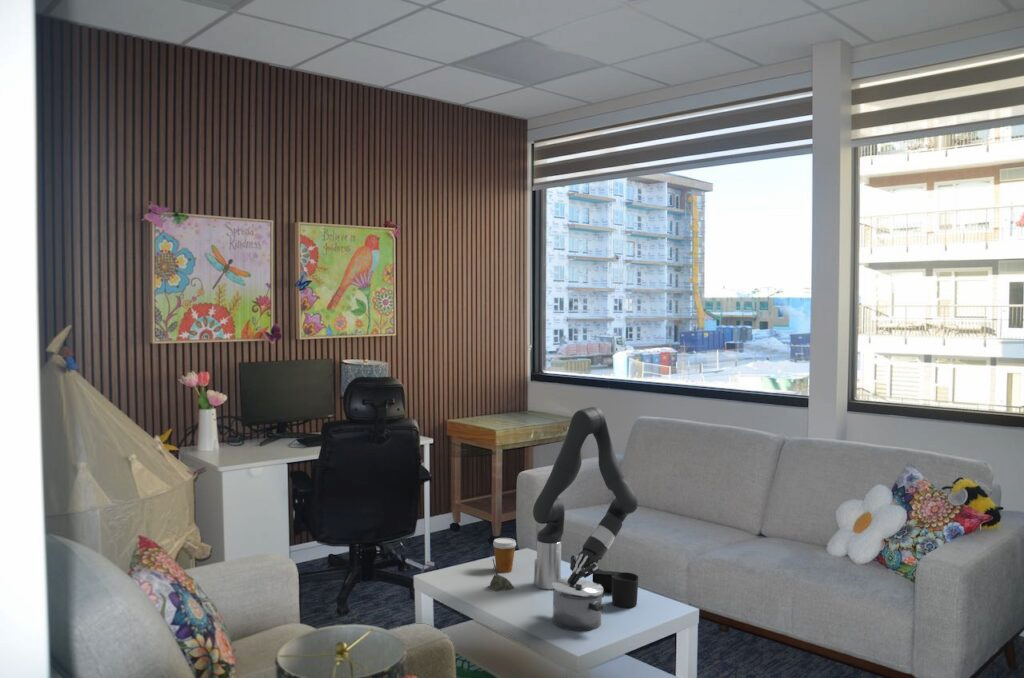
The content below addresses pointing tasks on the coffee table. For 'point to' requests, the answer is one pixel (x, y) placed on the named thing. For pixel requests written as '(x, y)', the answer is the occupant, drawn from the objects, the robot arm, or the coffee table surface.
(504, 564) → the disposable coffee cup
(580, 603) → the cooker pot
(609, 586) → the digital camera
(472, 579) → the coffee table surface
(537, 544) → the robot arm
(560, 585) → the cooker lid
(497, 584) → the sword in stone
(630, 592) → the pen holder
